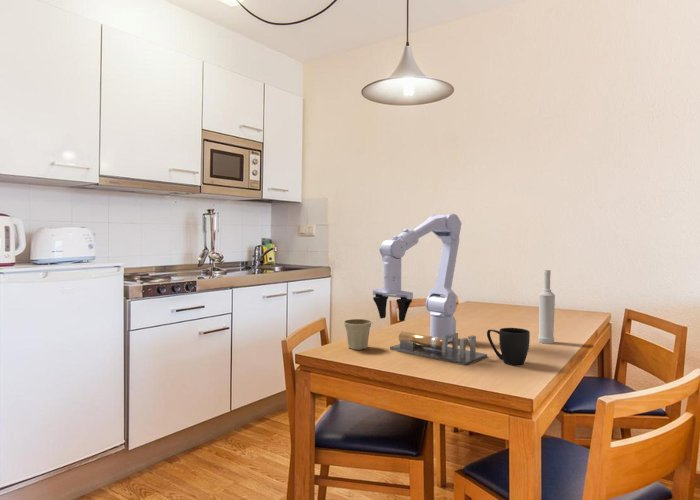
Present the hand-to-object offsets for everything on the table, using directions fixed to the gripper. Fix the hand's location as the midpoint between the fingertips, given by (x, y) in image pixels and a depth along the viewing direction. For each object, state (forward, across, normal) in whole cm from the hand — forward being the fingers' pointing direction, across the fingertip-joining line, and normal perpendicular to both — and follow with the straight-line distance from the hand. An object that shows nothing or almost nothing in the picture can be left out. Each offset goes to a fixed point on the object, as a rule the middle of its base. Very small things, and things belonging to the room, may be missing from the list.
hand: (392, 319), depth 150 cm
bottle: (+10, +33, +44) cm, 56 cm away
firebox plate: (+10, +13, +6) cm, 17 cm away
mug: (+10, +34, +10) cm, 37 cm away
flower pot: (+10, -9, -6) cm, 15 cm away
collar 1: (+10, +18, +6) cm, 21 cm away
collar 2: (+10, +24, +6) cm, 26 cm away
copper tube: (+8, +8, +6) cm, 13 cm away
